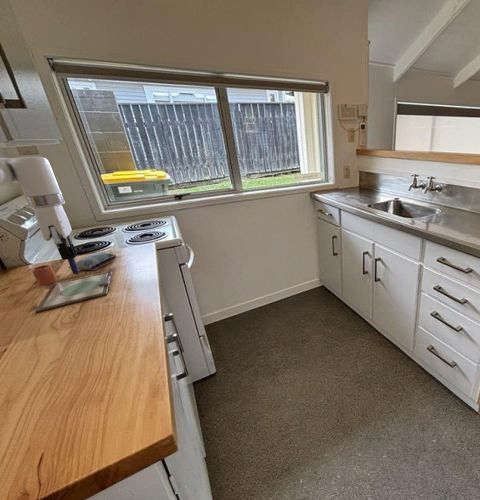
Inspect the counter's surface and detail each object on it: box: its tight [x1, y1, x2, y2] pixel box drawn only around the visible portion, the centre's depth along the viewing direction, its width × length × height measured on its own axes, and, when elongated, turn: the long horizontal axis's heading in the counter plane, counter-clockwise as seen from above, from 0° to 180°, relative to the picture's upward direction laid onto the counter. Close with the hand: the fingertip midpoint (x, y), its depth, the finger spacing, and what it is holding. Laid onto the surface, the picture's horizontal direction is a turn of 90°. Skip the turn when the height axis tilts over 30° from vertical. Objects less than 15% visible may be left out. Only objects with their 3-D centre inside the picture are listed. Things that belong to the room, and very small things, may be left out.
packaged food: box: [68, 252, 118, 271], centre depth 108 cm, size 9×12×5 cm
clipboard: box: [34, 271, 113, 314], centre depth 91 cm, size 16×20×1 cm
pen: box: [66, 258, 80, 276], centre depth 90 cm, size 2×2×12 cm
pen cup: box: [30, 264, 58, 286], centre depth 96 cm, size 5×5×6 cm
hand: (70, 257), depth 90 cm, fingers closed on pen, 1 cm apart
